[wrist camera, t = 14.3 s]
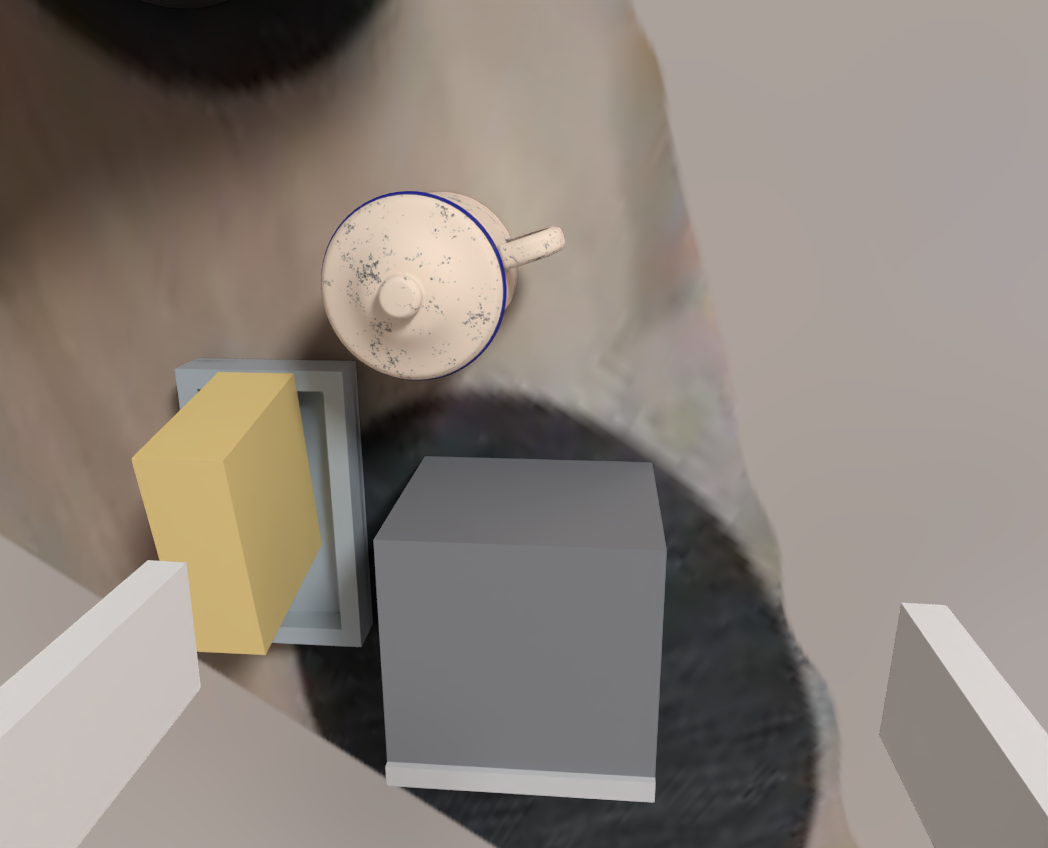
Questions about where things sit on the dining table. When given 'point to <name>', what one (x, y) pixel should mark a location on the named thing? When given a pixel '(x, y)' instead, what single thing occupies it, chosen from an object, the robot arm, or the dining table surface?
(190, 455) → the yellow cuboid
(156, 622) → the robot arm
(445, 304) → the teacup with lid
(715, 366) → the dining table surface
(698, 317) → the dining table surface
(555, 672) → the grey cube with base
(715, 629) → the dining table surface
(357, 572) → the tray
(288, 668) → the dining table surface
